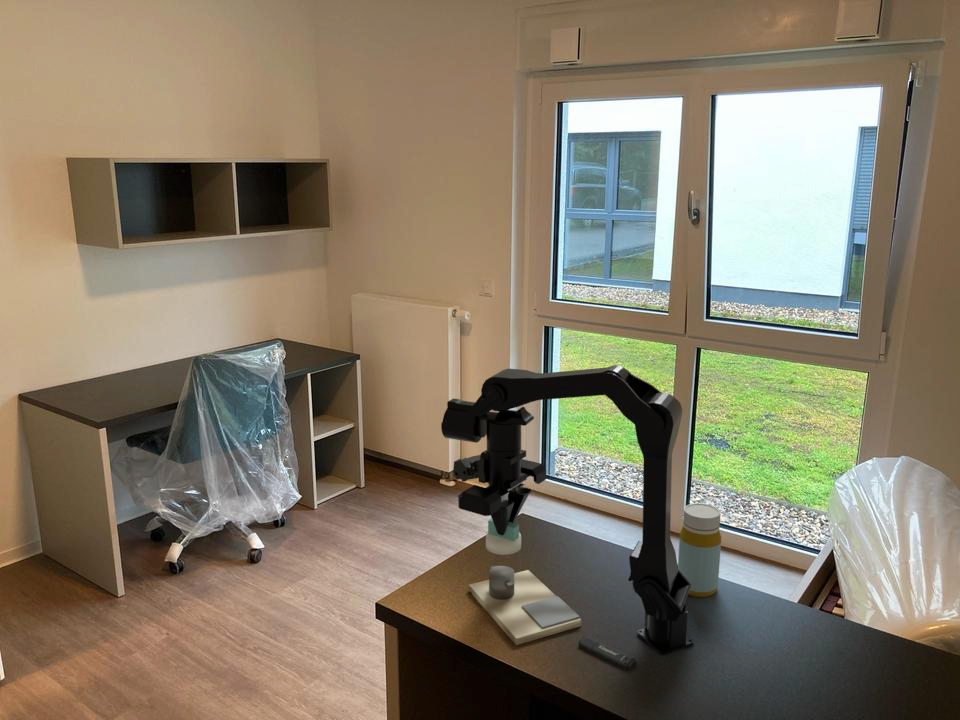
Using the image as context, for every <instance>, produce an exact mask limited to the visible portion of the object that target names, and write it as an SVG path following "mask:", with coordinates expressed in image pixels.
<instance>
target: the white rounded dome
mask: <svg viewBox="0 0 960 720" xmlns="http://www.w3.org/2000/svg"><path fill="white" fill-rule="evenodd" d="M487 531H488V532H486V534H485V548H486V550H487V551H488V552H490V553H492V554H495V555H502V556H505V555H513V554H515V553H517V552H519V551H520V550H521V548H522V535H521V534H522V533H520V525H519V523H515V522H514V523H511V522H508V525H507V528H506V531H505V534H504V535H503V536H502V535H499V534H498V533H497V531H496V528H495V525H494V523H493V520H492V517H491V518H490V519H489V520H487Z"/></svg>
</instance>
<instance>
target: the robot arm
mask: <svg viewBox="0 0 960 720" xmlns="http://www.w3.org/2000/svg"><path fill="white" fill-rule="evenodd" d="M480 391H481V394H480V396H479V397H478V398H477V400H476V401H475V402H473V401H467V400H462V399H460V398H451V399H450V400H448V401H447V403H446V405H447V408H446V410H444V413H443V417H442V422H440V423H441V427H440V429H441V434H442V436H443V437H444V438H445V439H449V440H458V441H463V442H470V443H479V442H480V441H481V440H482V438H485V437H486V450H483V451H482V452H481V453H480V454H477V455H472V456H470V457H463V458H459V459H456V460H454V462H453V475H454V478H456V479H457V480H461V482H463V483H464V482H467V481H468V480H476V479H478V483H482V484H486V483H487V484H488V486H486V487H483V486H479V485H476V484H474V485H472V486H470V487H469V488H467V489H466V490H464V491H462V492H461V493H459V494H458V495H457V499H458V500H457V505H458V507H457V508H458V509H460V510H463V511H467V512H471V513H473V514H477V515H479V516H480V515H481V516H484V517H488V516H489V517H491V518H492V520H493V523H494V525H495V528H496V531H497V533H498V534H499V535H502V536H503V535H504V534H505V531H506V528H507V525H508V522H511V523H515V522H516V520H517V517H518V516H519V514H520V512H521V510H522V508H523V506H524V504H525V502H526V500H527V499H528V497H529V495H530V494H531V493H532V489H531V488H528V487H525V484H524V482H525V481H527V480H528V478H529V477H532V478H533V482H534V483H535V484H536V485H540V484H541V483H543V482H544V481H546V480H547V469H546V467H545V466H544V465H543V464H542V463H541V462H535V461H532V460H528V459H524V458H526V457H527V450H525V449H522V426H524V427H525V426H527V425H528V424H530V423H531V422H532V421H533V420H534V419H535V416H534V415H532V413H530V412H529V411H528V410H527V408H526V407H525V405H527V404H530V403H533V402H537V401H544V400H545V401H547V400H557V399H569V398H585V397H599V396H606V398H608V399H609V400H610V401H612V403H613V404H614V406H616V408H617V409H618V410H619V412H620V413H621V414H622V415H623V416H624V417H625V418H626V419H627V420H628V421H629V422H631V423H632V424H634V428H635V429H634V430H635V434H636V441H637V444H638V447H639V449H640V452H641V453H642V458H643V467H642V468H643V470H642V471H643V478H642V480H643V481H642V482H643V483H642V484H643V485H642V541H641V540H638V541H637V543H636V544H635V546H634V548H633V550H632V551H631V553H630V555H629V556H628V557H629V561H628V562H629V567H630V574H629V578H628V582H631V581H632V589H633V590H634V594H637V595H638V596H639V598H640V599H641V602H642V605H643V608H644V628H641V629H638V630H637V632H636V634H637V635H638V636H639V637H640V638H641V639H642V640H643V641H645V642H646V643H647V644H648V645H649V646H650V647H651V648H653V650H655V651H656V652H658V653H659V654H660V655H666V654H669V653H672V652H675V651H679V650H681V649H684V648H687V647H691V646H694V644H695V643H694V642H695V641H694V640H693V639H692V638H691V637H690V636H689V635H687V633H688V632H687V631H688V618H689V615H688V614H689V611H688V610H687V606H686V604H685V603H686V601H687V598H688V593H689V591H690V588H691V584H690V582H689V581H688V580H687V579H686V578H685V577H684V576H683V574H682V573H681V572H680V571H679V570H678V559H677V554H676V553H677V552H676V550H675V547H674V544H673V543H672V539H671V513H672V466H673V464H672V463H673V453H674V452H673V451H674V448H675V444H676V441H677V438H678V434H679V430H680V425H681V421H682V420H681V419H682V417H683V408H682V407H683V406H682V405H681V401H680V400H679V401H678V399H677V398H676V397H675V396H673V395H672V394H670V393H667V392H662V391H661V390H659V389H658V388H656V387H655V386H654V385H653V384H652V383H650V382H647V381H646V380H643V379H641V378H640V377H638V376H636V375H634V374H633V373H631V372H630V371H629V370H628V369H627V368H625V367H624V366H622V365H620V364H619V365H617V364H613V365H610V366H607V367H598V368H597V367H595V368H587V369H575V370H574V369H573V370H565V371H563V370H562V371H553V372H544V373H541V372H534V371H531V370H527V369H518V368H505V369H502V370H501V371H498V372H497V373H494V375H492V376H490V377H488V378H487V379H485V381H484V382H483V383H482V387H481V389H480ZM521 406H522V407H521ZM518 407H520V408H518ZM515 408H518V410H513V409H515Z"/></svg>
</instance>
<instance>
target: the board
mask: <svg viewBox="0 0 960 720" xmlns="http://www.w3.org/2000/svg"><path fill="white" fill-rule="evenodd" d="M468 592H469V593H470V592H471V593H472V594H471V593H470V594H471V595H472V596H473V598H474V599H476V601H477V602H478V604H480V605H481V606H482V608H483V609H484V610H485V611H486V613H488V614H489V616H490V617H491V618H492V619H493V620H494V621H495V622H496V624H497V625H498V626H499V627H500V628H501V630H502V631H503V632H504V633H505V634H506V635H507V637H509V638H510V640H511V641H512V642H513V643H514V644H515V645H516V646H519V645H521V644H525V643H528V642H532V641H535V640H539V639H542V638H545V637H549V636H551V635H555V634H559V633H562V632H566V631H568V630H572V629H575V628H579V627H581V626H582V619H581V617H580V616H579V614H578V613H577V612H575V610H574V609H572V608H571V607H570V606H569V605H568V604H567V603H566V602H565V601H564V600H563V599H561V598H560V597H559V596H558V595H556V594H555V593H553V591H552V590H550V589H549V588H548V587H547V586H546V585H545V584H544V583H543V582H542V581H541V580H540V579H538V578H537V576H535V574H533V573H532V572H531V571H530V570H529V569H526V570H523V571H519V572H515V570H514V569H513V568H512V567H510V566H508V565H507V566H506V565H492V566H490V568H489V571H488V579H487V580H482V581H479V582H475V583H470V584H468Z"/></svg>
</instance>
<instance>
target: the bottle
mask: <svg viewBox="0 0 960 720" xmlns="http://www.w3.org/2000/svg"><path fill="white" fill-rule="evenodd" d="M682 515H683V519H682V520H683V521H682V523H683V524H682V527H681V529H680V531H679V540H678V541H679V542H678V557H677V558H678V559H677V565H678V570H679V571H680V572H681V573H682V574H683V576H684V577H685V578H686V579H687V580H688V581H689V582H690V584H691V588H690V591H689V593H688V595H689V596H691V597H695V598H709V597H710V596H713V595H714V594H715V593H716V592H717V591H718V589H719V576H720V575H719V574H720V565H721V564H720V562H721V549H722V535H721V532H720V524H721V510H719V509H718V508H717V507H716V506H713V505H711V504H706V503H698V502H697V503H696V502H695V503H690V504H689V503H688V504H686V505H685V506H684V508H683V514H682Z"/></svg>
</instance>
